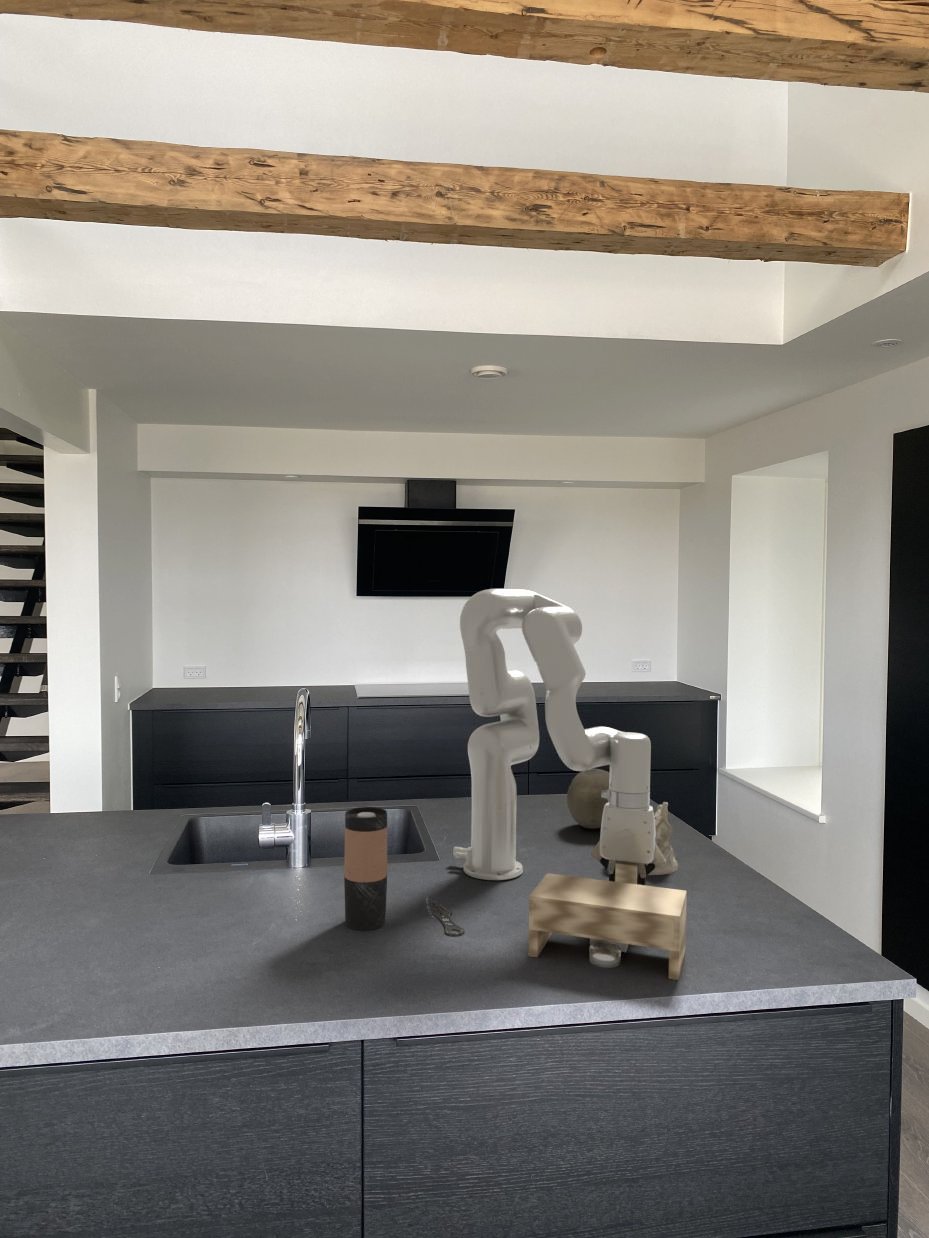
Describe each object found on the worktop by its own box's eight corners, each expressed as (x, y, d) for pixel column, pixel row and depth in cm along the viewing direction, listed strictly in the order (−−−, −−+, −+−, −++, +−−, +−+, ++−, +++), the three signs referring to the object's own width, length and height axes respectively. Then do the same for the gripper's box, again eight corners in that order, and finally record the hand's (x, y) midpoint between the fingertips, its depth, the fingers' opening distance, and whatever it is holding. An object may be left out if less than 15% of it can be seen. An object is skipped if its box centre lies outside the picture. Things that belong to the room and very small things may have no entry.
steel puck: (586, 964, 138) (586, 952, 138) (592, 952, 142) (592, 940, 142) (617, 969, 136) (618, 957, 136) (622, 956, 141) (622, 945, 141)
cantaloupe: (554, 827, 216) (555, 768, 215) (589, 818, 225) (590, 761, 225) (598, 840, 205) (599, 778, 205) (633, 829, 215) (635, 770, 214)
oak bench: (528, 956, 140) (528, 896, 140) (546, 928, 152) (547, 873, 151) (678, 980, 132) (679, 916, 132) (685, 949, 144) (686, 890, 144)
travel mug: (393, 917, 156) (394, 809, 155) (375, 933, 149) (376, 819, 148) (355, 912, 158) (356, 805, 158) (336, 927, 151) (337, 815, 150)
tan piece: (589, 946, 142) (590, 899, 142) (612, 897, 165) (613, 856, 165) (626, 952, 141) (627, 904, 140) (644, 901, 163) (645, 860, 163)
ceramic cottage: (674, 853, 196) (671, 788, 195) (681, 880, 180) (678, 810, 179) (605, 853, 198) (602, 789, 197) (605, 880, 182) (602, 810, 181)
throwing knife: (445, 939, 148) (445, 935, 148) (415, 898, 167) (415, 895, 167) (469, 936, 149) (469, 932, 149) (437, 896, 168) (437, 893, 168)
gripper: (581, 799, 161) (579, 895, 161) (672, 808, 155) (670, 907, 156) (588, 790, 168) (586, 882, 168) (676, 798, 162) (674, 893, 163)
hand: (627, 893), depth 162 cm, fingers closed on tan piece, 4 cm apart
